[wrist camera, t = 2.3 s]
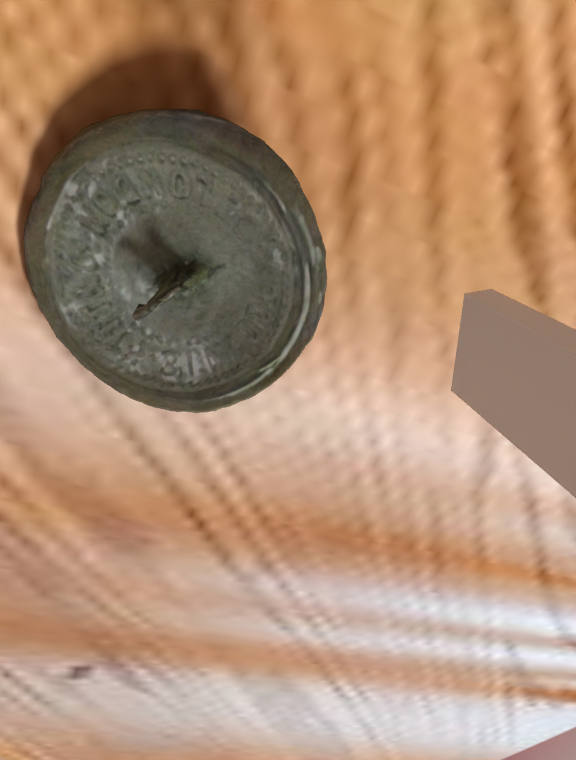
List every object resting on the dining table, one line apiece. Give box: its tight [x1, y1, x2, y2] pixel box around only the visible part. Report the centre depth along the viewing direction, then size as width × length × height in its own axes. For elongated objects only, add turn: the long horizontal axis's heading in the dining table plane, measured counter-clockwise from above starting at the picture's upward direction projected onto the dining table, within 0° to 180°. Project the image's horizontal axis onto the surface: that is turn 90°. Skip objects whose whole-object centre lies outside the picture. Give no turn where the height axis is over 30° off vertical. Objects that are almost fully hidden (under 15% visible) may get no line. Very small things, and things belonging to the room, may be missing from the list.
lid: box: [24, 109, 327, 413], centre depth 16 cm, size 11×10×5 cm
